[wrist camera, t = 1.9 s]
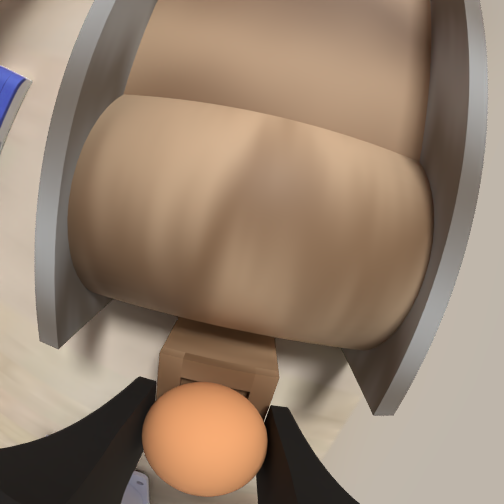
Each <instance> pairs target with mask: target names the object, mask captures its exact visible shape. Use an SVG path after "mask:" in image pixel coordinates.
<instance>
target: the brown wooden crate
mask: <svg viewBox="0 0 504 504" xmlns="http://www.w3.org/2000/svg"><path fill="white" fill-rule="evenodd" d="M278 380H279V371H278V363H277V355H276V346H275V338H274V337H271V336H266V335H261V334H256V333H250V332H245V331H241V330H236V329H231V328H226V327H222V326H217V325H213V324H208V323H204V322H199V321H195V320H191V319H187V318H183V317H179V318H178V320H177V321H176V323H175V325H174V327H173V329H172V331H171V333H170V334H169V336H168V338H167V340H166V342H165V344H164V346H163V347H162V349H161V351H160V355H159V367H158V380H157V395H156V400H157V399H158V398H159V397H161V396H162V395H163V394H164V393H166V392H167V391H169V390H171V389H173V388H175V387H177V386H180V385H183V384H187V383H194V382H210V383H216V384H220V385H223V386H226V387H229V388H231V389H233V390H235V391H237V392H238V393H240V394H241V395H243V396H244V397H245V398H247V399H248V400H249V401H250V402H251V403H252V404H253V405H254V407H255V408H256V409H257V410H258V412H259V414H260V416H261V417H262V419H263V422H264V419H265V416H266V414H267V411H268V408H269V406H270V403H271V400H272V397H273V394H274V392H275V389H276V386H277V383H278Z"/></svg>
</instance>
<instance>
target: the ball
mask: <svg viewBox="0 0 504 504" xmlns="http://www.w3.org/2000/svg"><path fill="white" fill-rule="evenodd" d="M142 445H143V449H144V453H145V456H146V458H147V460H148V462H149V464H150V466H151V467H152V469H153V470H154V471H155V473H156V474H157V475H158V476H159V477H160V478H161V479H162V480H163V481H165V482H166V483H167V484H169V485H170V486H172V487H174V488H175V489H177V490H179V491H182V492H184V493H187V494H191V495H196V496H205V497H211V496H220V495H224V494H228V493H231V492H233V491H236V490H238V489H240V488H241V487H243V486H244V485H246V484H247V483H248V482H249V481H251V480H252V479H253V478H254V476H255V475H256V474H257V473H258V471H259V470H260V468H261V467H262V464H263V462H264V460H265V457H266V453H267V445H268V439H267V431H266V427H265V425H264V422H263V419H262V417H261V416H260V414H259V412H258V410H257V409H256V408H255V407H254V405H253V404H252V403H251V402H250V401H249V400H248V399H247V398H245V397H244V396H243V395H241V394H240V393H238V392H237V391H235V390H233V389H231V388H229V387H226V386H223V385H220V384H216V383H210V382H194V383H187V384H183V385H180V386H177V387H175V388H173V389H171V390H169V391H167V392H166V393H164V394H163V395H162V396H161V397H159V398H158V399H157V400H156V401H155V403H154V404H153V405H152V406H151V408H150V409H149V411H148V413H147V415H146V417H145V420H144V423H143V428H142Z"/></svg>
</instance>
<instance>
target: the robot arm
mask: <svg viewBox="0 0 504 504" xmlns="http://www.w3.org/2000/svg"><path fill="white" fill-rule="evenodd" d="M155 395H156V381H154V380H150V379H147V378H143V377H138V378H136V379H135V380H134V381H133V382H132V383H131V384H130V385H128V386H127V387H126V388H125V389H124V390H123V391H121V392H120V393H119V394H118V395H116V396H115V397H114V398H112V399H111V400H110V401H108V402H107V403H106V404H104V405H103V406H102V407H100V408H99V409H97V410H96V411H94V412H93V413H91V414H89V415H88V416H86V417H85V418H83V419H81V420H80V421H78V422H76V423H74V424H73V425H71V426H69V427H67V428H65V429H63V430H60V431H58V432H56V433H53V434H51V435H46V437H44V438H41V439H38V440H35V441H32V442H28V443H24V444H20V445H16V446H12V447H7V448H1V449H0V504H150V501H149V481H148V477H147V476H146V475H145V474H143V473H140V472H137V471H134V470H135V467H136V465H137V463H138V461H139V459H140V457H141V454H142V452H143V450H144V449H143V445H142V428H143V423H144V420H145V417H146V415H147V413H148V411H149V409H150V408H151V406H152V405H153V404H154V403H155ZM264 425H265V427H266V431H267V439H268V445H267V453H266V457H265V460H264V462H263V464H262V467H261V468H260V470H259V471H258V473H257V474H256V480H257V495H258V504H360V503H358V502H357V501H356V500H355V499H353V498H352V497H351V496H350V495H349V494H348V493H347V492H346V491H345V490H344V489H343V488H342V487H341V486H340V485H339V484H338V483H337V481H336V480H335V479H334V478H333V477H332V476H331V474H330V473H329V472H328V471H327V469H326V468H325V467H324V466H323V464H322V463H321V462H320V460H319V459H318V457H317V456H316V455H315V453H314V451H313V450H312V448H311V447H310V445H309V444H308V442H307V441H306V439H305V437H304V436H303V434H302V432H301V430H300V429H299V427H298V425H297V423H296V421H295V420H294V418H293V416H292V414H291V412H290V410H289V409H288V407H280V406H273V405H271V406H270V409H269V411H268V414H267V417H266V419H265V422H264Z"/></svg>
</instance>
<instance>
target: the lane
mask: <svg viewBox="0 0 504 504" xmlns="http://www.w3.org/2000/svg"><path fill="white" fill-rule="evenodd" d="M487 114H488V68H487V52H486V40H485V31H484V23H483V17H482V10H481V5H480V0H94V2H93V4H92V6H91V8H90V10H89V13H88V15H87V17H86V19H85V21H84V23H83V26H82V28H81V30H80V33H79V35H78V38H77V40H76V43H75V45H74V48H73V50H72V53H71V56H70V58H69V61H68V64H67V67H66V70H65V73H64V76H63V79H62V82H61V85H60V89H59V92H58V96H57V99H56V103H55V106H54V110H53V114H52V118H51V123H50V127H49V131H48V136H47V141H46V146H45V151H44V157H43V163H42V170H41V176H40V184H39V192H38V202H37V213H36V229H35V295H36V310H37V321H38V331H39V339H40V341H41V342H43V343H45V344H47V345H50V346H52V347H54V348H57V349H59V348H60V347H61V346H63V345H64V344H65V343H66V342H67V341H68V340H69V339H70V338H71V337H72V336H73V335H74V334H75V333H76V332H77V331H79V330H80V329H81V328H82V327H83V326H84V325H85V324H86V323H87V322H88V321H89V320H91V319H92V318H93V317H94V316H95V315H96V314H97V313H98V312H99V311H101V310H102V309H103V308H104V307H105V306H106V305H107V304H108V303H110V302H111V301H112V300H113V299H116V300H119V301H123V302H126V303H130V304H133V305H137V306H140V307H144V308H148V309H151V310H155V311H159V312H163V313H167V314H171V315H175V316H179V317H183V318H187V319H191V320H195V321H199V322H204V323H208V324H213V325H217V326H222V327H226V328H231V329H236V330H241V331H245V332H250V333H256V334H261V335H266V336H271V337H277V338H282V339H288V340H294V341H300V342H306V343H312V344H319V345H326V346H332V347H340V348H341V349H342V351H343V353H344V355H345V357H346V359H347V361H348V363H349V365H350V367H351V369H352V371H353V374H354V376H355V378H356V380H357V382H358V384H359V386H360V388H361V390H362V392H363V394H364V397H365V399H366V401H367V403H368V405H369V407H370V409H371V412H372V414H373V415H374V416H378V415H379V416H384V415H386V416H388V415H394V413H395V412H396V410H397V409H398V407H399V405H400V404H401V402H402V400H403V398H404V397H405V395H406V393H407V391H408V389H409V388H410V386H411V384H412V382H413V380H414V378H415V376H416V374H417V372H418V370H419V368H420V366H421V364H422V362H423V360H424V358H425V356H426V354H427V352H428V350H429V347H430V346H431V343H432V341H433V339H434V336H435V334H436V332H437V330H438V327H439V325H440V322H441V320H442V318H443V315H444V312H445V310H446V307H447V305H448V302H449V299H450V297H451V294H452V291H453V288H454V285H455V282H456V279H457V276H458V273H459V270H460V267H461V264H462V260H463V257H464V253H465V250H466V246H467V242H468V239H469V235H470V231H471V227H472V222H473V218H474V213H475V209H476V203H477V199H478V193H479V188H480V182H481V175H482V168H483V161H484V153H485V143H486V131H487Z"/></svg>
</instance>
